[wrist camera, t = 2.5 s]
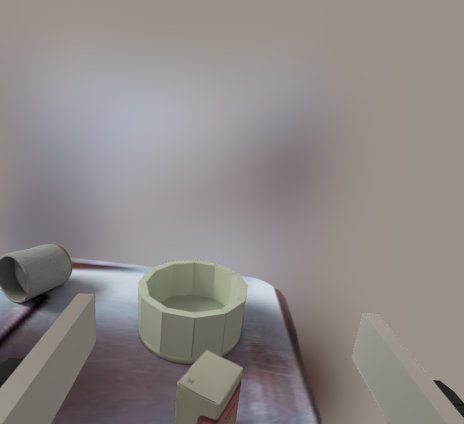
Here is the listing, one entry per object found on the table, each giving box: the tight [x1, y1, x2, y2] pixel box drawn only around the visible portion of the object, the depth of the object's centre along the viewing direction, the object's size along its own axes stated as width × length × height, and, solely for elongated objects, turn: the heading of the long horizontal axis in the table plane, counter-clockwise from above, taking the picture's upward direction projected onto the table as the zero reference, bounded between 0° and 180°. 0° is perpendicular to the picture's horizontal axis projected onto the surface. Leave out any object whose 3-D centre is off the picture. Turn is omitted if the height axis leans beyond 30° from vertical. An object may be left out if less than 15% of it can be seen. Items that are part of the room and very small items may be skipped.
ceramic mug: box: [0, 244, 72, 303], centre depth 50 cm, size 11×8×8 cm
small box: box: [174, 350, 243, 424], centre depth 29 cm, size 5×4×8 cm
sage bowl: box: [138, 260, 248, 364], centre depth 45 cm, size 15×15×7 cm
